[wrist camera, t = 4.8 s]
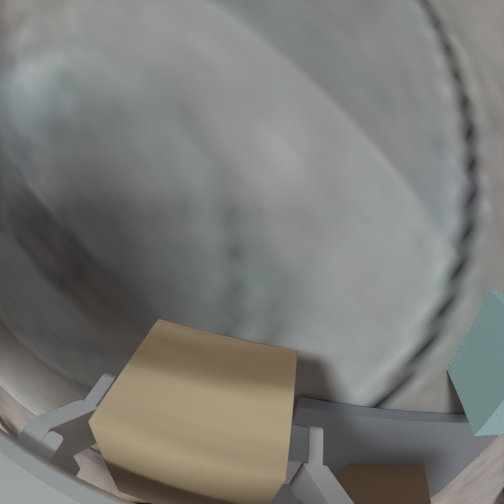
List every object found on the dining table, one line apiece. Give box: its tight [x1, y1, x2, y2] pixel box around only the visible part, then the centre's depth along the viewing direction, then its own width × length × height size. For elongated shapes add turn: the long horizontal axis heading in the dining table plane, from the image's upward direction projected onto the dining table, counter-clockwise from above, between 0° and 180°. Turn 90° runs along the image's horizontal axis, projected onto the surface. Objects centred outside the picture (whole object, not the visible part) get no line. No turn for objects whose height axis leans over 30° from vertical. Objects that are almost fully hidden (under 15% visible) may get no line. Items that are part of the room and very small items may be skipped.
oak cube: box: [88, 319, 297, 504], centre depth 9 cm, size 5×5×5 cm
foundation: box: [270, 396, 498, 504], centre depth 16 cm, size 16×16×5 cm
